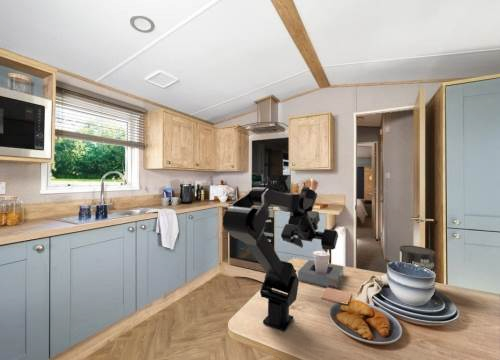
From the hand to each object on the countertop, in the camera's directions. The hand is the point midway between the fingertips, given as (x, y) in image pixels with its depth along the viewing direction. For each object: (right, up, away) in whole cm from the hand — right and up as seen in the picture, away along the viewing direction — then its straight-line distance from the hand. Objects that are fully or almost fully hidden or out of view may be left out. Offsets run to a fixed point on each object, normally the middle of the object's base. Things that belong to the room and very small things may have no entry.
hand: (314, 248), depth 84 cm
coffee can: (+35, -14, -3) cm, 38 cm away
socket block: (+4, -13, +6) cm, 15 cm away
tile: (+5, -13, -8) cm, 16 cm away
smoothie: (+4, -13, +6) cm, 15 cm away
